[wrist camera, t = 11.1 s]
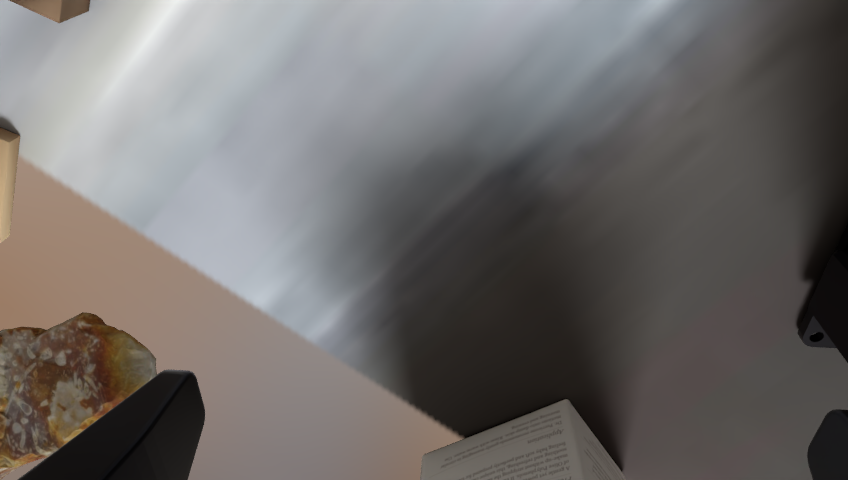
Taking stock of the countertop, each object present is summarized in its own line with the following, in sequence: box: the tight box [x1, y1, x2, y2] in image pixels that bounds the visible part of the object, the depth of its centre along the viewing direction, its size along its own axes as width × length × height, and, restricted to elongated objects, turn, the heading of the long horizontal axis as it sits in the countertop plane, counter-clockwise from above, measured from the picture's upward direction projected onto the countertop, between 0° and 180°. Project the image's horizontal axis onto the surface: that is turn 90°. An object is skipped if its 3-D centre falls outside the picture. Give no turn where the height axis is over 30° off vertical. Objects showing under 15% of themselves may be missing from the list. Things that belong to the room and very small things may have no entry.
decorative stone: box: [0, 313, 157, 480], centre depth 27 cm, size 10×4×15 cm
